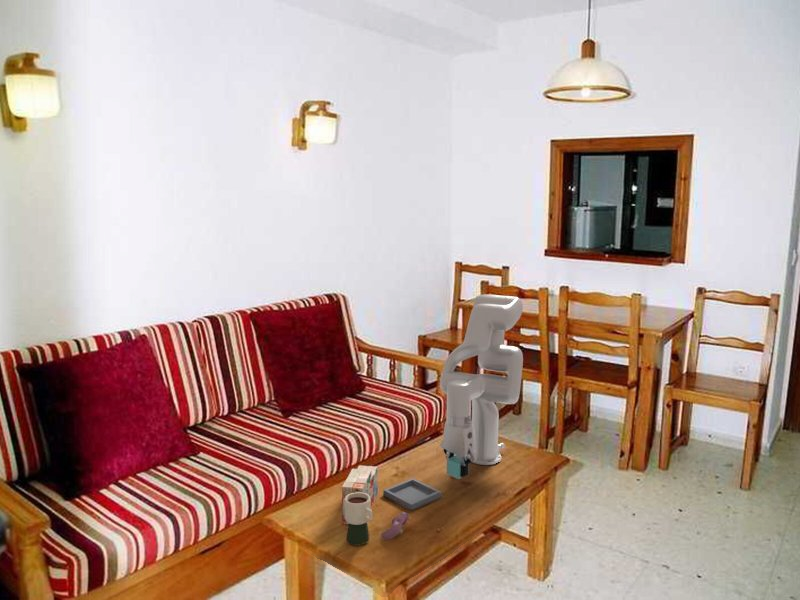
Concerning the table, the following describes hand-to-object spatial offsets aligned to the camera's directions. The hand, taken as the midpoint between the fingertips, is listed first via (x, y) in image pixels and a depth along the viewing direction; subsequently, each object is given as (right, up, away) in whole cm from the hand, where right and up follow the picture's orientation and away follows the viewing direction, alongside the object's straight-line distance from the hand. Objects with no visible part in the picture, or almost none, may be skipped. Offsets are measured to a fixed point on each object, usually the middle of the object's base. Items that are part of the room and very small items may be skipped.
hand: (457, 472), depth 208 cm
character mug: (-30, -12, -26) cm, 42 cm away
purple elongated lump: (-20, -12, -22) cm, 32 cm away
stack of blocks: (-31, -9, -8) cm, 33 cm away
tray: (-15, -8, 0) cm, 16 cm away
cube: (0, -1, 0) cm, 1 cm away
